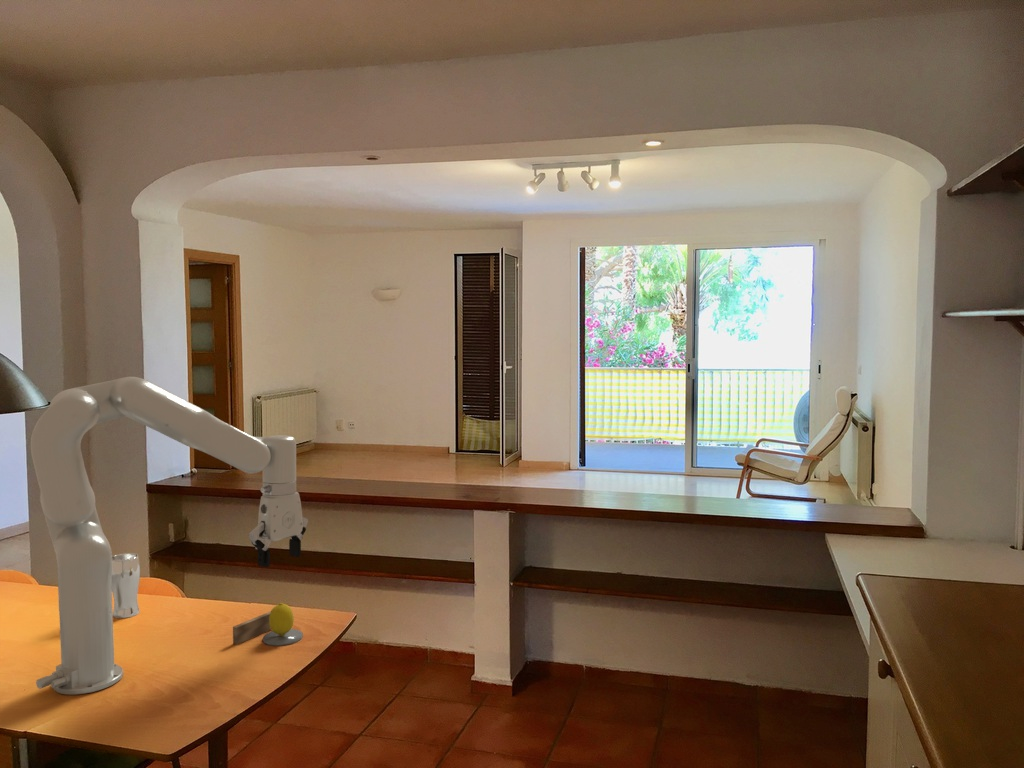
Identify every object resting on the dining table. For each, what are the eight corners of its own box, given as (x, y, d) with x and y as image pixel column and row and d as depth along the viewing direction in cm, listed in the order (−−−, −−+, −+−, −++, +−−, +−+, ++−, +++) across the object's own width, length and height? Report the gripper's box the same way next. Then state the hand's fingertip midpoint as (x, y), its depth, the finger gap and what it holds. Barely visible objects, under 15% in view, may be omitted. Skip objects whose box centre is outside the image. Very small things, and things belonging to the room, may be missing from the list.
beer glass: (113, 611, 199) (111, 554, 198) (143, 608, 201) (141, 551, 200) (108, 620, 192) (106, 561, 192) (138, 617, 195) (137, 559, 194)
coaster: (282, 648, 175) (282, 646, 175) (254, 641, 179) (254, 638, 179) (310, 635, 183) (310, 633, 183) (283, 628, 187) (283, 626, 187)
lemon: (289, 640, 178) (288, 606, 177) (266, 640, 178) (265, 607, 178) (297, 631, 183) (296, 598, 183) (274, 631, 184) (273, 598, 183)
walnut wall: (236, 644, 177) (236, 627, 177) (233, 643, 178) (232, 626, 177) (288, 622, 191) (287, 606, 191) (284, 621, 192) (284, 605, 191)
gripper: (262, 496, 169) (262, 573, 170) (317, 484, 184) (318, 554, 185) (238, 493, 173) (239, 568, 174) (295, 481, 188) (295, 550, 189)
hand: (279, 561), depth 180 cm, fingers open, 9 cm apart
